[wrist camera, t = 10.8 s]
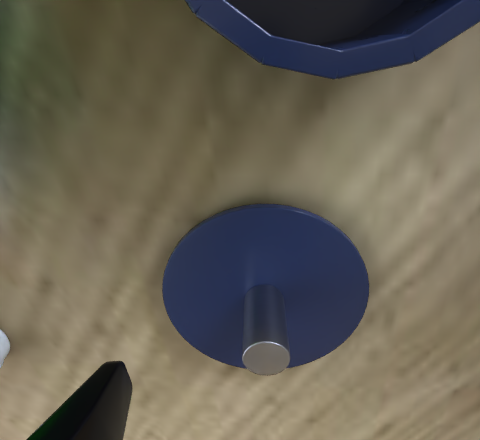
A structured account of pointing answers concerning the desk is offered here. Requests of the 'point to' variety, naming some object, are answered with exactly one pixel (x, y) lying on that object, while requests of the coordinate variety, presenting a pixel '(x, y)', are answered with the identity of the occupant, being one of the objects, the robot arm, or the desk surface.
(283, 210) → the lid
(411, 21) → the blue short hollow cylinder
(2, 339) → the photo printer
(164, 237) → the desk surface
